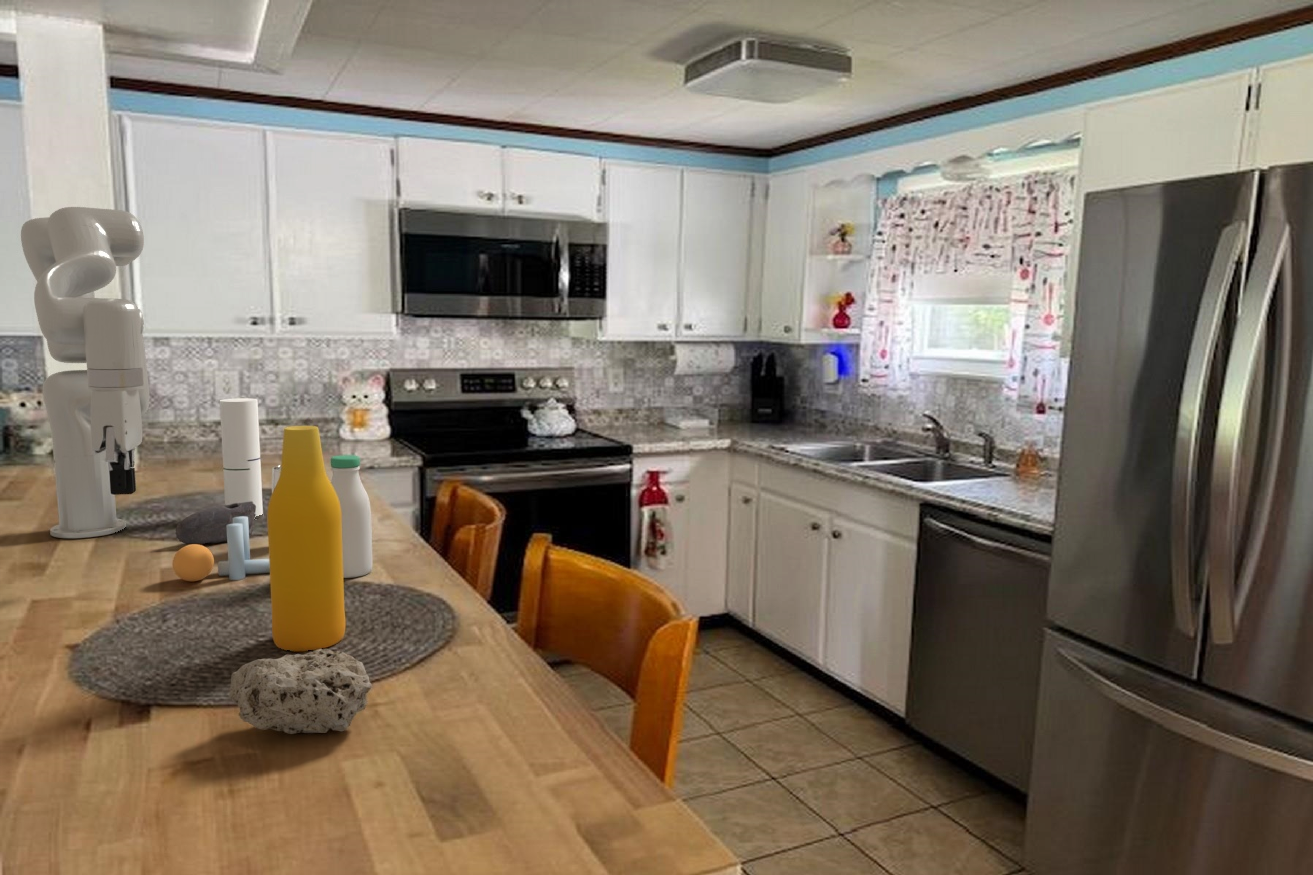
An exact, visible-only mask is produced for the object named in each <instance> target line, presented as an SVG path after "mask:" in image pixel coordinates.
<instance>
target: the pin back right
mask: <svg viewBox="0 0 1313 875" xmlns="http://www.w3.org/2000/svg"><path fill="white" fill-rule="evenodd" d="M232 519H233V523H241V524H243V541H244V560H251V552H250V551H251V550H250V547H251V545H250V536H249V525H248V517H246V516H240V517H234V518H232Z"/></svg>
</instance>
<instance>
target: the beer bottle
mask: <svg viewBox="0 0 1313 875" xmlns="http://www.w3.org/2000/svg"><path fill="white" fill-rule="evenodd" d="M280 465H281V472H280V477H279V480H278V482H277V484H276V486H275V488H274V491H273V493H272V492H271V496H270V498H269V502H268V505H267V515H266V516H267V518H266V520H267V521H266V522H267V524H266V525H267V532H268V533H267V537H268V539H267V540H268V541H267V542H268V559H269V563H270V573H269V578H270V579H269V580H270V598H271V599H270V600H271V601H270V602H271V635H272V640H273V643H274V644H275V646H276V647H277V648H278V649H280V648H281V650H283V649H284V650H283V651H287V650H290V651H289V652H309V651H308V650H313V651H315V650H319V649H322V648H323V649H327V648H329V647H332V646H333V645H336V644H338V643H339V642H341V640H343V638H344V637H345V632H346V625H347V624H346V613H345V612H346V611H345V591H344V590H345V587H344V586H345V585H344V578H343V553H342V523H341V507H340V502H339V499H338V496H337V494H336V492H335V490H334V488H333V486H332V484H331V480H330V479H329V477H328V474H327V472H326V467H325V463H324V456H323V449H322V443H321V435H320V430H319V427H318V426H315V425H293V426H287V427H284V428H283V438H282V451H281V464H280ZM323 649H322V650H323Z"/></svg>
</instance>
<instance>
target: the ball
mask: <svg viewBox="0 0 1313 875" xmlns="http://www.w3.org/2000/svg"><path fill="white" fill-rule="evenodd" d="M214 565H215V559H214V555H213V553H212V552H211V550H210V549H209V548H207V547H206V546H204V545H203V544H201V545H198V544H191V545H190V544H186V545H185V546H183V547H181V548H180V549H179V550H177V552H176V553H175V554H174V556H173V557H172V570H173V571H174V573H175V575H176V576H177V577H178V578H180V579H181V580H183V581H186V582H197V581H201V580H203V579H205V578H206V577H208V576H209V575H210V573H211V572H212V571H213V568H214Z"/></svg>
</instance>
